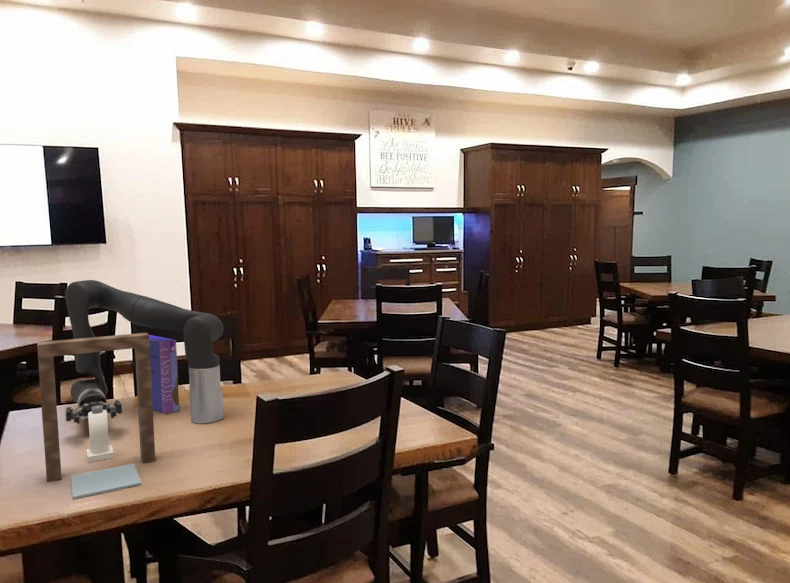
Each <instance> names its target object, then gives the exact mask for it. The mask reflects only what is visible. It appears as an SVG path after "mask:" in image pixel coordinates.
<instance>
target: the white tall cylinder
mask: <svg viewBox="0 0 790 583" xmlns="http://www.w3.org/2000/svg"><path fill="white" fill-rule="evenodd" d="M87 419H88V420H87V421H88V433H89V434H88V435H89V448H87V449H85V450H86V459H87V463H88V462H89V463H94V462H99V461H98V460H100V461H104V459H105V460H110V458H111V459H114V458H115V454H114V449H113V446H112V444H111V445H110V443H109V439H110V438H109V422H108V421H109V420H108V416H107V410H103V406H102V405H97V406H93V407H92V411H91V412H89V413H88V418H87ZM93 461H94V462H93Z"/></svg>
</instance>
